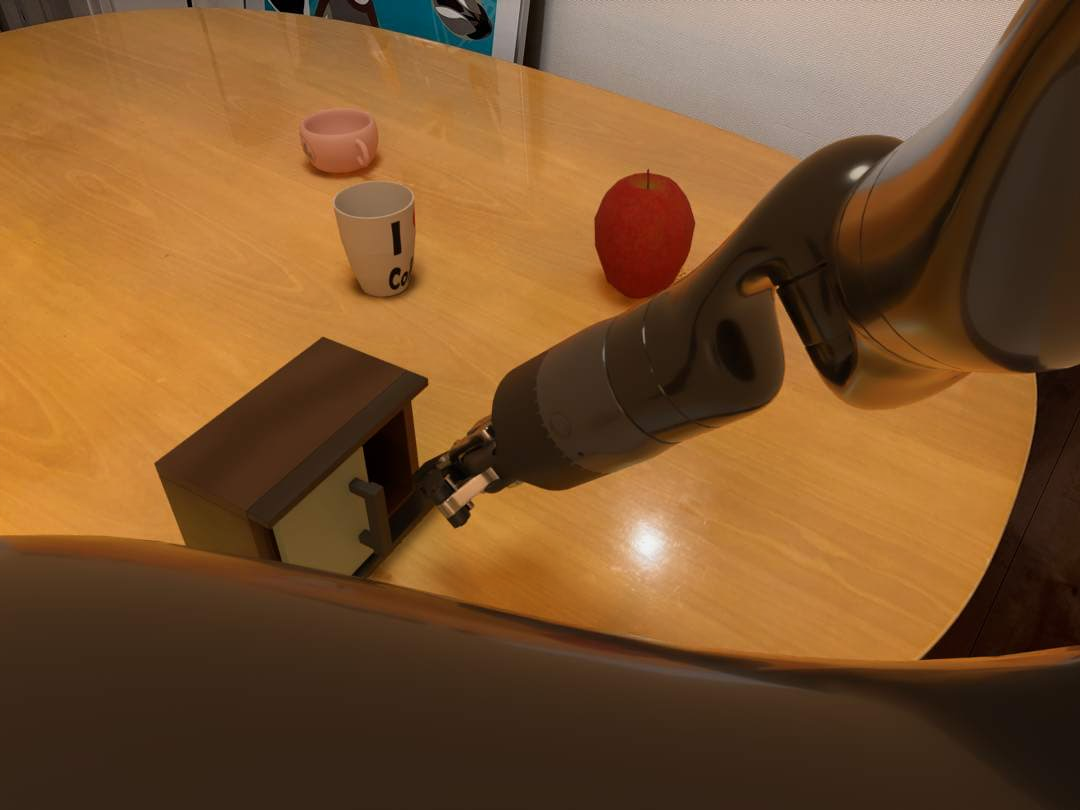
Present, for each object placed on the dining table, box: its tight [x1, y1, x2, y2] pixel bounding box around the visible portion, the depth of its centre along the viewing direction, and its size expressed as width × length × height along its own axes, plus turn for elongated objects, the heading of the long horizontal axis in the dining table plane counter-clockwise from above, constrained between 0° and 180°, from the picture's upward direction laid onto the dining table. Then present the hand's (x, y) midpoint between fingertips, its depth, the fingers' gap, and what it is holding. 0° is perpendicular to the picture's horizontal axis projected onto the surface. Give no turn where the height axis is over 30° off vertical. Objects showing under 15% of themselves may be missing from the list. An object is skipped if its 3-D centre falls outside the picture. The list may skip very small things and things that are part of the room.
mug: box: [298, 107, 379, 174], centre depth 115 cm, size 12×10×6 cm
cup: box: [332, 180, 417, 298], centre depth 92 cm, size 8×8×10 cm
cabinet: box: [153, 336, 436, 579], centre depth 63 cm, size 10×16×12 cm, turn 149°
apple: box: [593, 168, 696, 300], centre depth 90 cm, size 10×10×14 cm
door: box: [273, 446, 394, 575], centre depth 60 cm, size 3×8×10 cm, turn 149°
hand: (426, 482), depth 59 cm, fingers closed
